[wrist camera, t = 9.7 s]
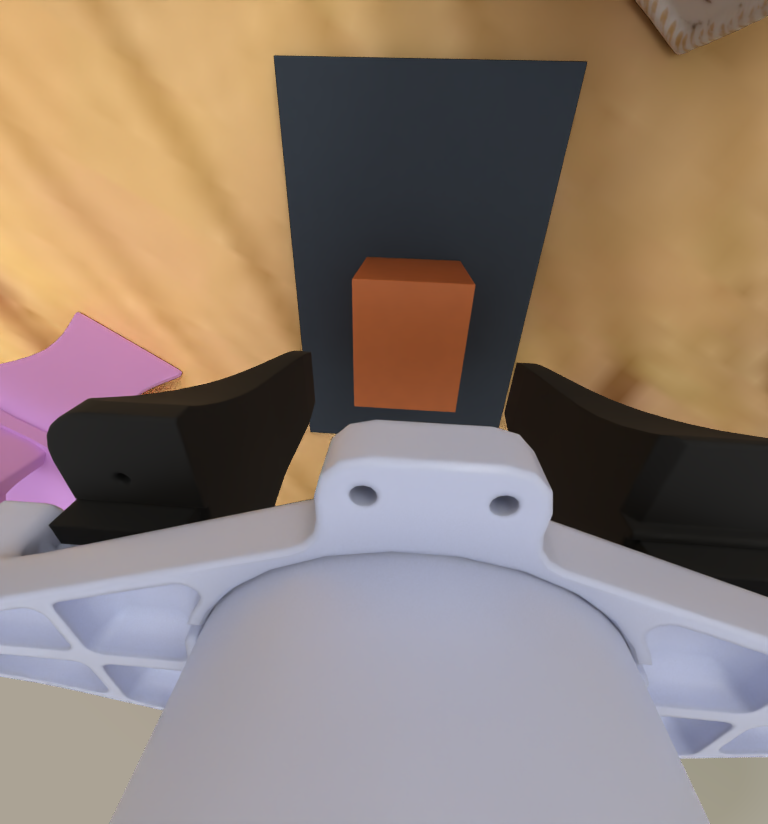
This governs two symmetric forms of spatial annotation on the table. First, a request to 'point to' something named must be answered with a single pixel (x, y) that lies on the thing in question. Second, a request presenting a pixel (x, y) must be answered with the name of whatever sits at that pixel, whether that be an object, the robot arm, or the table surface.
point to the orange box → (410, 332)
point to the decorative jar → (701, 19)
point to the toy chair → (63, 401)
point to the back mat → (420, 201)
